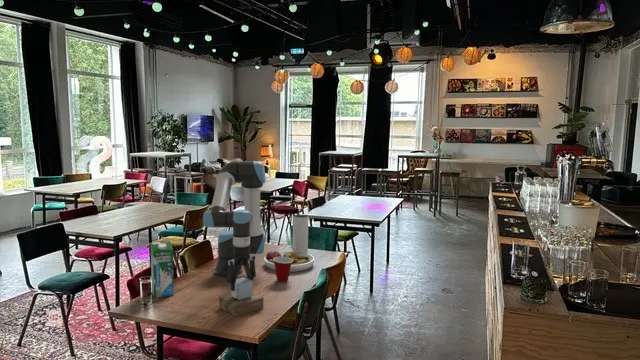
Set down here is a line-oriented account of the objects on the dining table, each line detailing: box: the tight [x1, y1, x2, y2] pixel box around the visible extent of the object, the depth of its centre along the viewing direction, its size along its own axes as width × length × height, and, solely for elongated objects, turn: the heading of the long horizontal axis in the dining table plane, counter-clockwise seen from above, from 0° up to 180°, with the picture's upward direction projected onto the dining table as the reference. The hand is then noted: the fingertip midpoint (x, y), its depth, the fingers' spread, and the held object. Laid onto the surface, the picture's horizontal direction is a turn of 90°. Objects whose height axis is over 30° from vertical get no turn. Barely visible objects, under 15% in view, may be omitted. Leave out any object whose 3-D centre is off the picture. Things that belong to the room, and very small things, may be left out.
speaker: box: [291, 214, 310, 254], centre depth 292 cm, size 11×10×26 cm
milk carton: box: [150, 240, 175, 299], centre depth 215 cm, size 9×9×25 cm
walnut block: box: [218, 292, 264, 317], centre depth 200 cm, size 14×14×5 cm
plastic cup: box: [273, 257, 293, 283], centre depth 238 cm, size 11×11×12 cm
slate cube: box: [229, 277, 253, 300], centre depth 199 cm, size 7×7×7 cm
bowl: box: [263, 250, 315, 273], centre depth 266 cm, size 30×30×8 cm
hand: (241, 295), depth 199 cm, fingers closed on slate cube, 7 cm apart
